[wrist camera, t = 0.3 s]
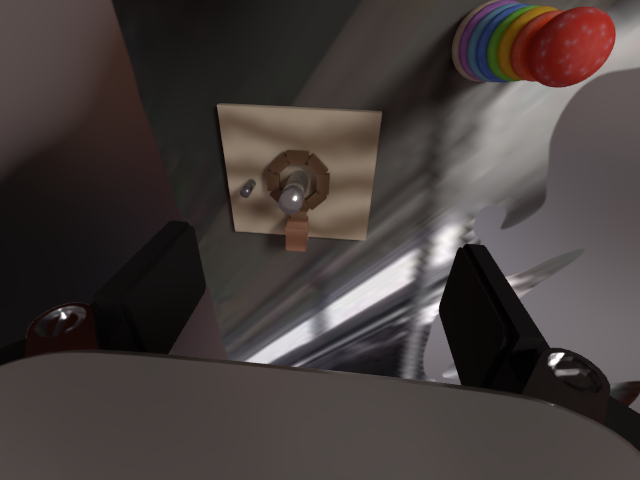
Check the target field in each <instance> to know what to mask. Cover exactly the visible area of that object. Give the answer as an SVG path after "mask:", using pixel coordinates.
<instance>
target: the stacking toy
mask: <svg viewBox="0 0 640 480" xmlns="http://www.w3.org/2000/svg"><path fill="white" fill-rule="evenodd" d="M615 36H616V34H615V26H614V23H613V21H612V19H611V18H610V16H609V15H608V14H607V13H605V12H603V11H602V10H600V9H597V8H594V7H578V8H573V9H570V10H567V11H562V10H557V9H556V8H553V7H548V6H538V5H528V4H521V3H519V2H517V1H514V0H492V1H489V2H486V3H483V4H481V5H480V6H478V7H476V8H475V9H474V10H472V11H471V12H470V13H469V14H468V15H467V16H466V17H465V18H464V19H463V21H462V22H461V24H460V25H459V27H458V29H457V31H456V33H455V36H454V40H453V44H452V59H453V63H454V65H455V68H456V69H457V71H458V72H459V73H460V74H461V75H462V76H463V77H464V78H466V79H468V80H471V81H474V82H486V81H487V82H509V81H520V80H527V81H538V82H539V83H541V84H543V85H545V86H549V87H567V86H571V85H574V84H577V83H579V82H582V81H583V80H585V79H587V78H588V77H590V76H591V75H592V74H594V73H595V72H596V71H597V70H598V69H599V68H600V67H601V66H602V65H603V64H604V63H605V61H606V60H607V58H608V57H609V55H610V53H611V51H612V49H613V46H614V43H615Z"/></svg>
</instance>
